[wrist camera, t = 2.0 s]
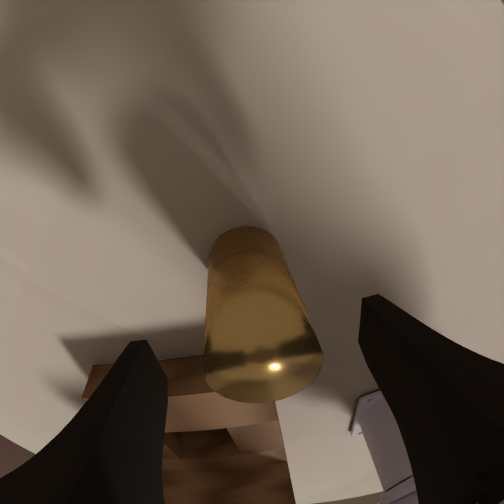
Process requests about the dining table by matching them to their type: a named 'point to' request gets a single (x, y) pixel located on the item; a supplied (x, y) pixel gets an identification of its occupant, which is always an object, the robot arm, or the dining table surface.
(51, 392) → the dining table surface
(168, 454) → the socket block
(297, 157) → the dining table surface
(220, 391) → the peg
